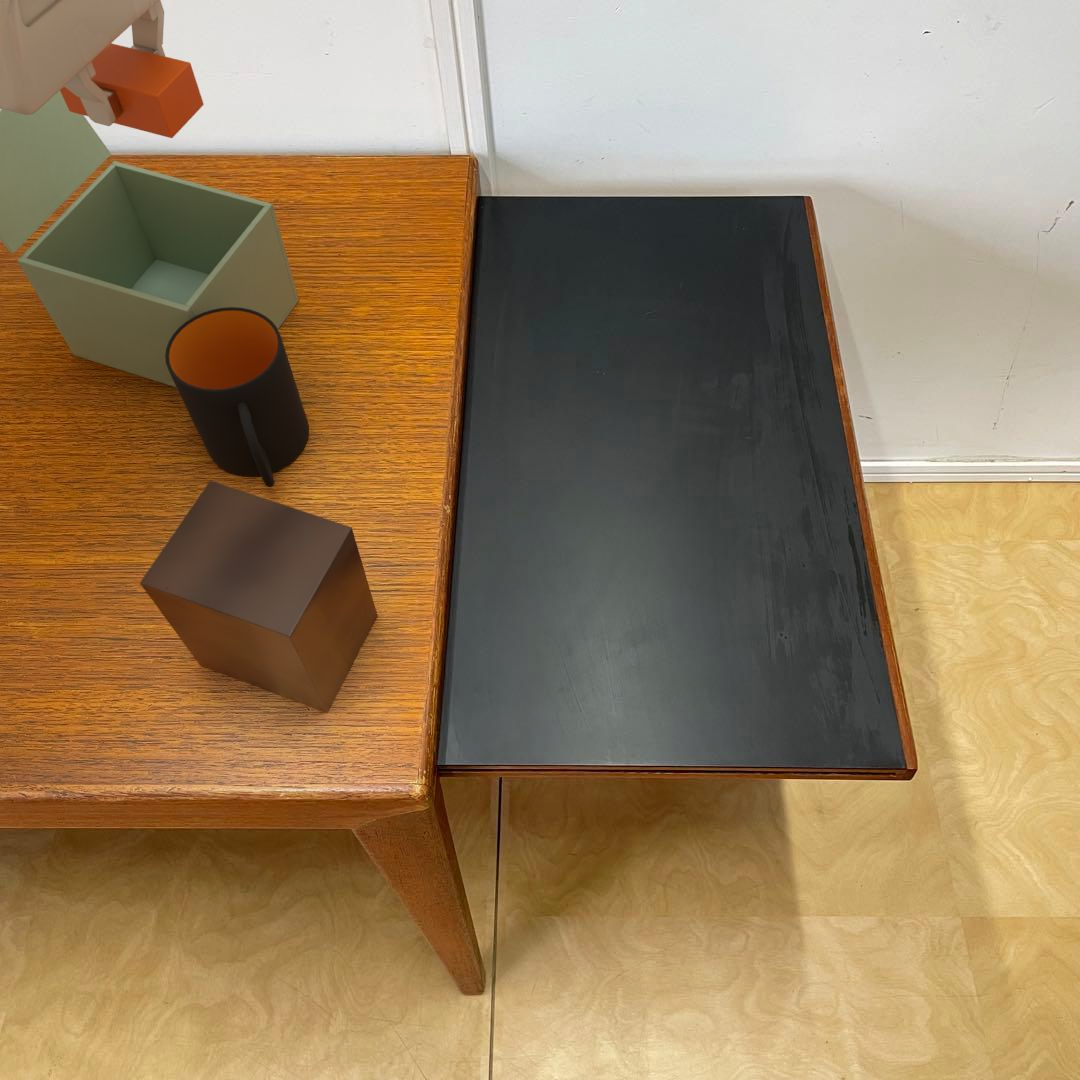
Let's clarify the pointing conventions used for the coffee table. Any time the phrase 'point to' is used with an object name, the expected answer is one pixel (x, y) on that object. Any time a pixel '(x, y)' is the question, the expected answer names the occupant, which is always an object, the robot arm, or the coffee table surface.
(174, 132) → the block
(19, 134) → the flap
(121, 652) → the coffee table surface
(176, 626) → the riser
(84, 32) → the robot arm
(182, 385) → the mug
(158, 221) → the green box
